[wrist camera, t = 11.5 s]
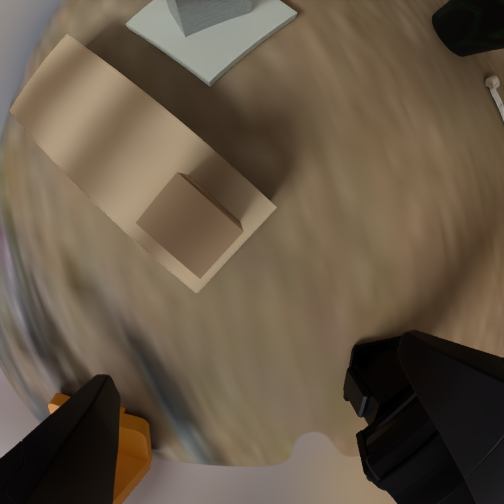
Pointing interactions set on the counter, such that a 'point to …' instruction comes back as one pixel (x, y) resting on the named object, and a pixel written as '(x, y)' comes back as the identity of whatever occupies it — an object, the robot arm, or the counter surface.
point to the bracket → (125, 450)
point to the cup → (471, 25)
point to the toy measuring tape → (495, 92)
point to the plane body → (139, 163)
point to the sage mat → (211, 36)
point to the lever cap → (205, 13)
